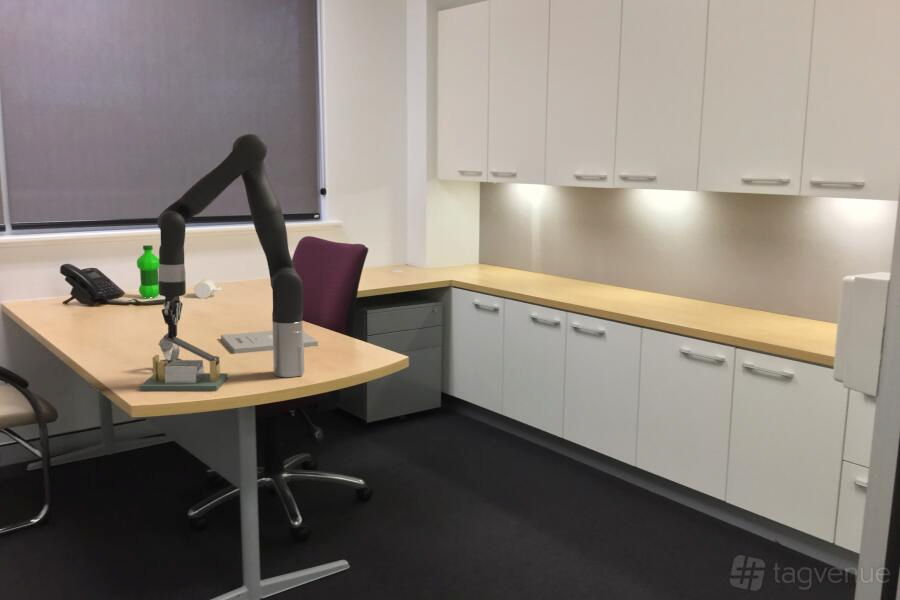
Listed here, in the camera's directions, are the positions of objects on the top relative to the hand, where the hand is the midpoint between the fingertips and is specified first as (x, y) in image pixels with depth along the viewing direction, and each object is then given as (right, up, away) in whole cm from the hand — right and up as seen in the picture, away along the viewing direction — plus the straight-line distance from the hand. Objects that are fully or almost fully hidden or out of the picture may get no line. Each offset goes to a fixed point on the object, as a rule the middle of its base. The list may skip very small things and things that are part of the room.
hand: (172, 336), depth 239 cm
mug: (-35, +12, +153) cm, 157 cm away
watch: (-7, -12, +19) cm, 23 cm away
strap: (+5, -4, +1) cm, 7 cm away
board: (+3, -14, +3) cm, 15 cm away
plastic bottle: (-62, +12, +148) cm, 160 cm away
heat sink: (+3, -13, +2) cm, 13 cm away
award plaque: (+15, -6, +58) cm, 61 cm away
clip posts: (+4, -13, +2) cm, 14 cm away
